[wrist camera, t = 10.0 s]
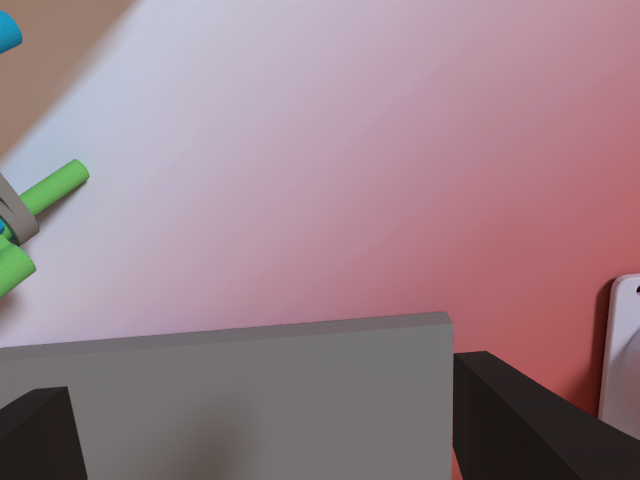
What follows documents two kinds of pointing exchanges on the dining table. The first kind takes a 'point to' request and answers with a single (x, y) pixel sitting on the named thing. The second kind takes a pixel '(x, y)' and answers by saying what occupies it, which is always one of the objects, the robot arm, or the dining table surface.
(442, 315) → the board
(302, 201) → the dining table surface
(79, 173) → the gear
